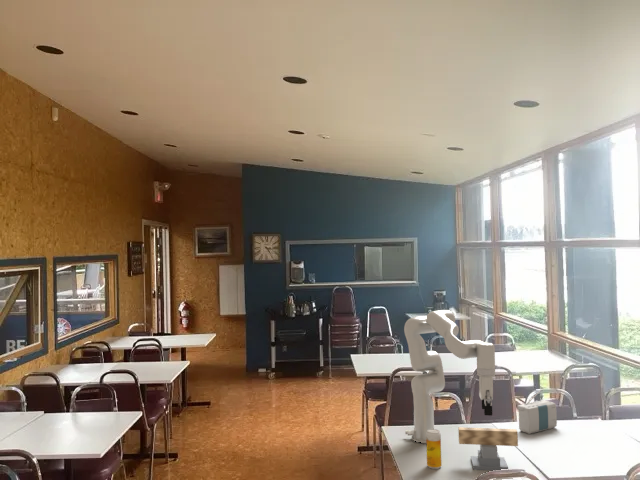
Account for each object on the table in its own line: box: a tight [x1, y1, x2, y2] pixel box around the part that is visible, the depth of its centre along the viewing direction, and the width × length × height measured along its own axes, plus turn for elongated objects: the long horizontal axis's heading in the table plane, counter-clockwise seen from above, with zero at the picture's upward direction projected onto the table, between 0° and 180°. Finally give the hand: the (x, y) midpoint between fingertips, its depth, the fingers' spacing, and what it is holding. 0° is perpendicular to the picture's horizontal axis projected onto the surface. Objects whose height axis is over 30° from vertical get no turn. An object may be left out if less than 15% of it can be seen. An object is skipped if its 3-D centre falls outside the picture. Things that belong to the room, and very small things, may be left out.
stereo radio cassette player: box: [517, 388, 558, 435], centre depth 287 cm, size 21×8×20 cm, turn 119°
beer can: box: [425, 428, 442, 470], centre depth 238 cm, size 6×6×15 cm
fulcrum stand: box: [470, 445, 509, 471], centre depth 238 cm, size 14×12×9 cm
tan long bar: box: [457, 426, 519, 447], centre depth 239 cm, size 24×4×6 cm, turn 79°
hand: (487, 412), depth 239 cm, fingers open, 9 cm apart
